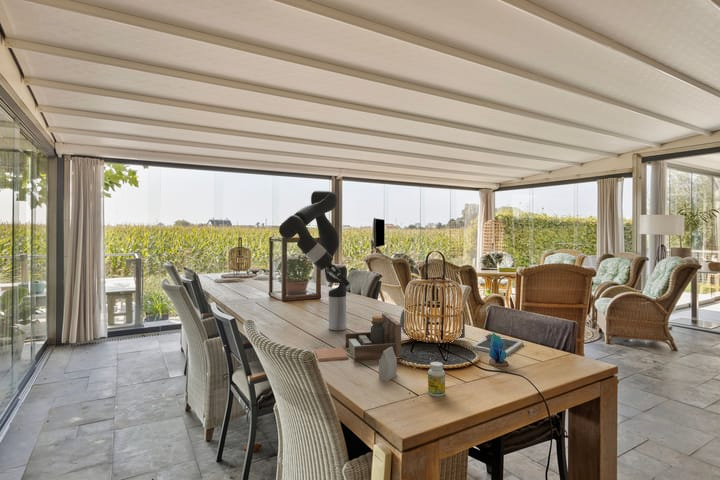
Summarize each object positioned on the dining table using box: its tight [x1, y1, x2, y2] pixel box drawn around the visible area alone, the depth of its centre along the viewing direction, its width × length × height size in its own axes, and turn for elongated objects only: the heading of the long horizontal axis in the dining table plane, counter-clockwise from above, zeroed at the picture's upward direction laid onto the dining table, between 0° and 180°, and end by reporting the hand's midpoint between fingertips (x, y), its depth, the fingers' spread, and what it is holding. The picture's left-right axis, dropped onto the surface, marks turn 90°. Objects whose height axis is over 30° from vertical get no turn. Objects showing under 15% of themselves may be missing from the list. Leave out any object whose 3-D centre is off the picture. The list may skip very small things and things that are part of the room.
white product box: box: [378, 347, 398, 382], centre depth 141 cm, size 4×7×10 cm, turn 150°
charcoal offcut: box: [358, 335, 372, 345], centre depth 168 cm, size 12×3×6 cm, turn 13°
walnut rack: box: [344, 312, 402, 363], centre depth 168 cm, size 21×19×14 cm
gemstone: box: [488, 332, 509, 368], centre depth 154 cm, size 7×9×12 cm
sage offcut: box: [348, 339, 360, 356], centre depth 167 cm, size 14×3×4 cm, turn 14°
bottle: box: [370, 315, 384, 345], centre depth 169 cm, size 6×6×15 cm
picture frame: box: [470, 333, 524, 357], centre depth 177 cm, size 16×3×21 cm
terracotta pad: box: [314, 347, 349, 362], centre depth 165 cm, size 12×12×1 cm
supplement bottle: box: [427, 361, 446, 397], centre depth 127 cm, size 5×5×10 cm
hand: (345, 284), depth 166 cm, fingers open, 8 cm apart
